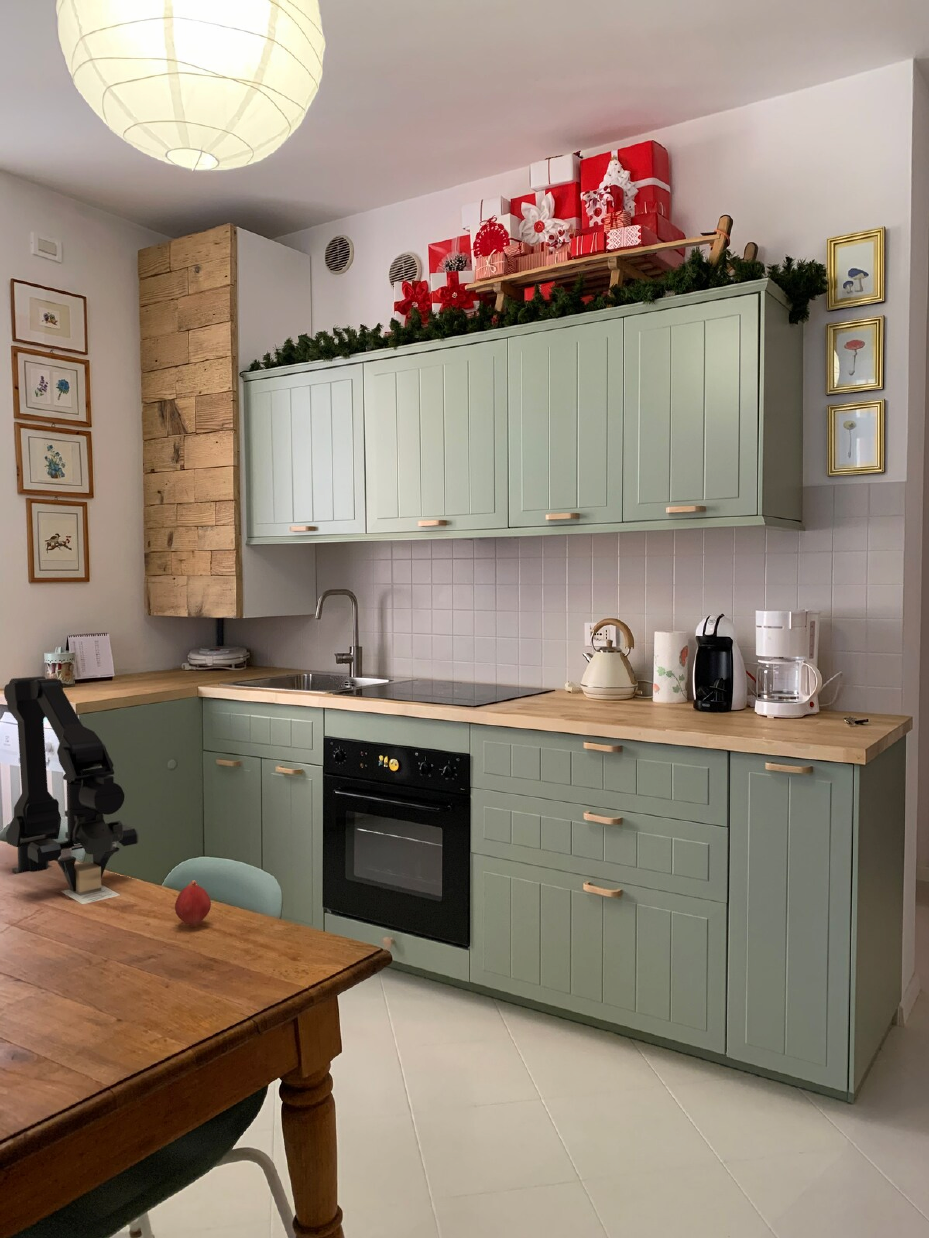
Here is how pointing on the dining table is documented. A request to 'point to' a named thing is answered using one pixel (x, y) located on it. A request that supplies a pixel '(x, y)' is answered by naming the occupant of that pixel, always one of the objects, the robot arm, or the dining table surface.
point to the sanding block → (87, 878)
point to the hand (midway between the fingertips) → (85, 888)
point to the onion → (192, 904)
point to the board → (92, 895)
